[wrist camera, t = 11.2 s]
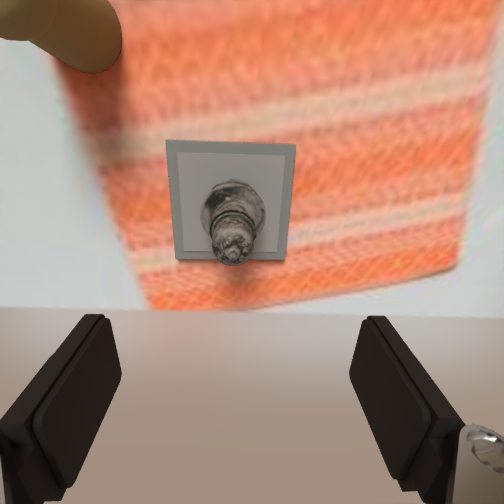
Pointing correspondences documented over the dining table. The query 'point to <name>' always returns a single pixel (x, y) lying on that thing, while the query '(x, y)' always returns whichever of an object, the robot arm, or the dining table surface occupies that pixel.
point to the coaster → (223, 168)
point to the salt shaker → (232, 220)
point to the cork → (66, 30)
